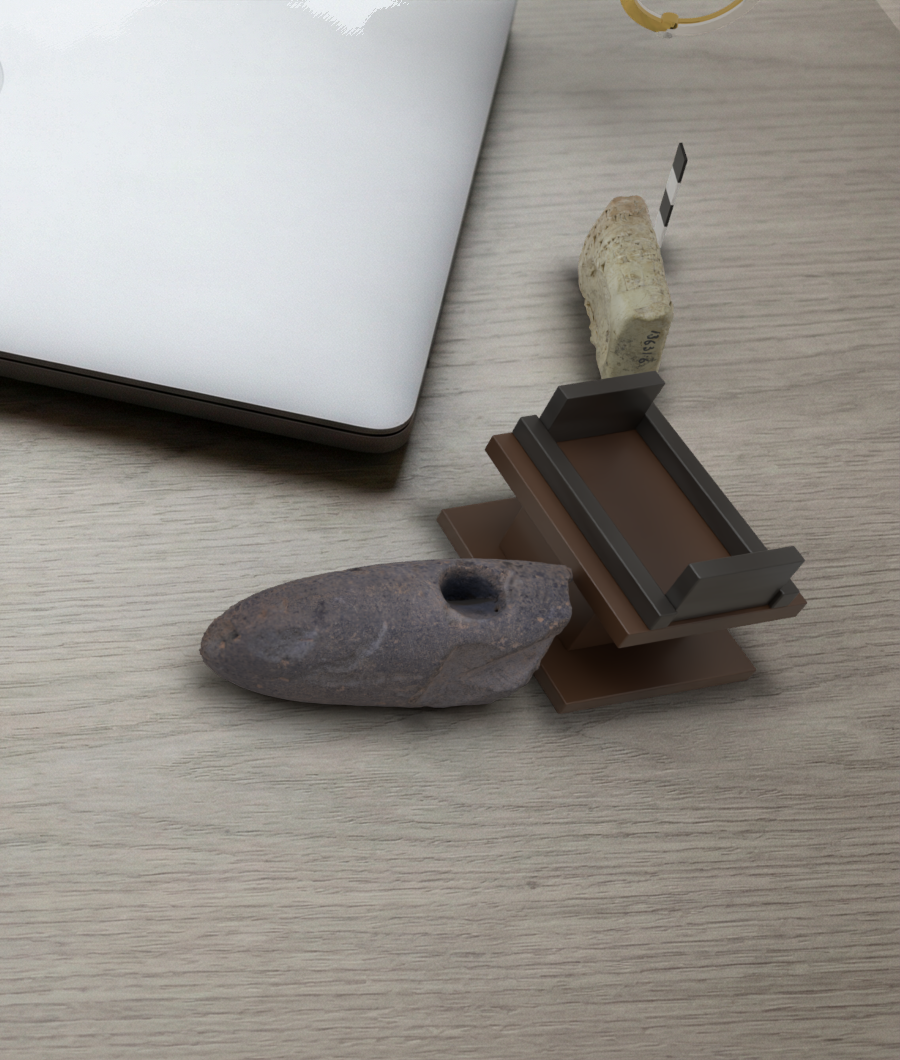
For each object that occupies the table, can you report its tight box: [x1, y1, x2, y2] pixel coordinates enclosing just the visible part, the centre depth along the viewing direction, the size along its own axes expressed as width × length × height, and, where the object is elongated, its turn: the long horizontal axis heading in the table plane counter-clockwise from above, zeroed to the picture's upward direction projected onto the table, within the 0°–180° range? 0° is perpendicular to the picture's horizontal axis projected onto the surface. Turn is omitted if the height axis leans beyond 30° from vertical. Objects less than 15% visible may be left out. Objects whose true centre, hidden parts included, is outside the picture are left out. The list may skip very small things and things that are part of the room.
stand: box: [435, 371, 808, 715], centre depth 73 cm, size 9×11×9 cm
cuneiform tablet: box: [577, 142, 689, 379], centre depth 85 cm, size 7×4×12 cm
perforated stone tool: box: [198, 558, 573, 709], centre depth 71 cm, size 15×5×7 cm, turn 89°
